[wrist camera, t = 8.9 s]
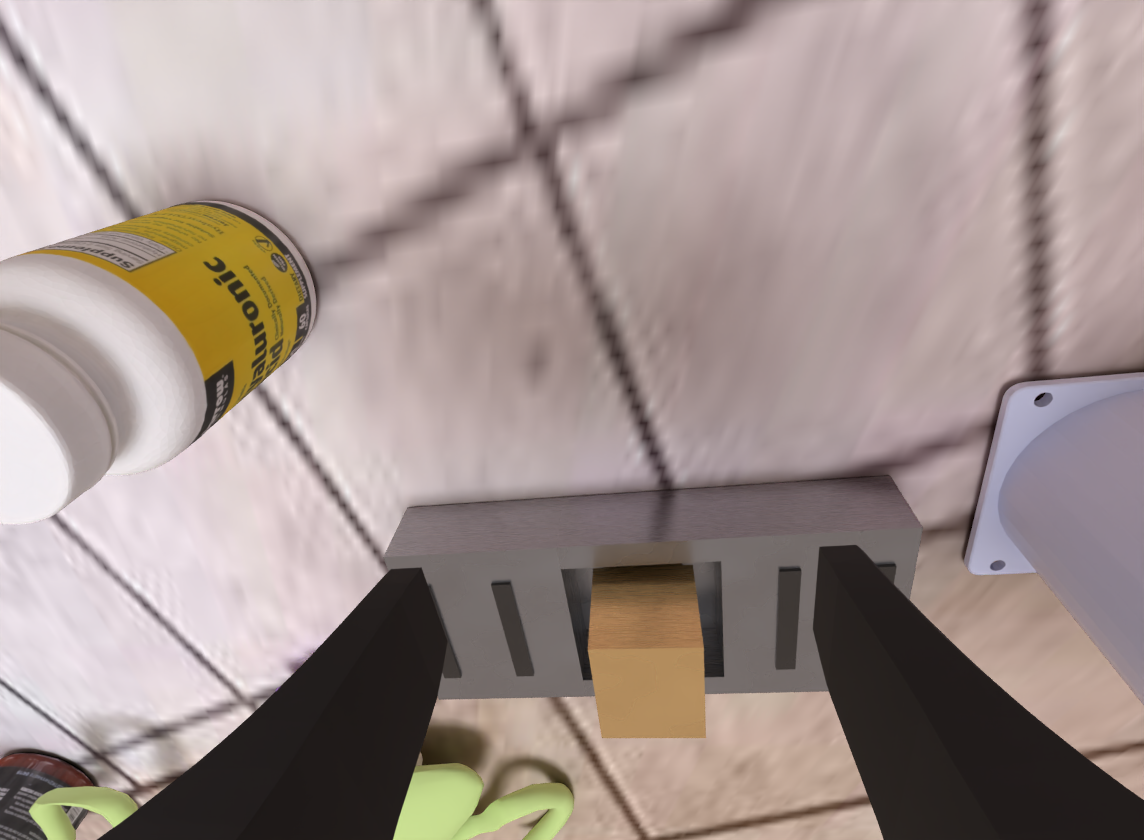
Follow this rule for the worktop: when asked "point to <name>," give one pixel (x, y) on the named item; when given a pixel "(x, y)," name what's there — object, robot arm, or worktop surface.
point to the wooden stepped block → (647, 652)
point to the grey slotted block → (645, 537)
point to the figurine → (425, 826)
